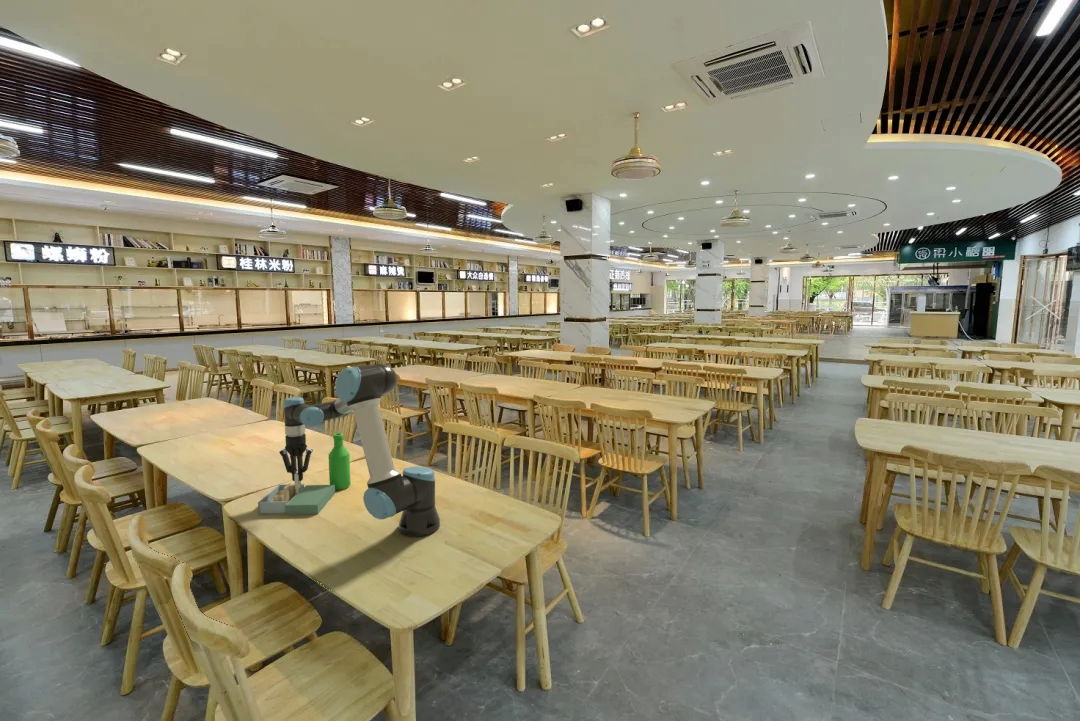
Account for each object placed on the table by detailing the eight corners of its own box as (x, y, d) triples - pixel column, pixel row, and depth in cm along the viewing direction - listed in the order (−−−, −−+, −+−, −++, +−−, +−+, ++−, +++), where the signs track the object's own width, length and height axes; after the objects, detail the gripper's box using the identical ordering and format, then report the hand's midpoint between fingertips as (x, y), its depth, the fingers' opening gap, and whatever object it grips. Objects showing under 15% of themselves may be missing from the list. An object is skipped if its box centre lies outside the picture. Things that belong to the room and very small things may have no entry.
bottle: (354, 483, 215) (352, 431, 212) (344, 491, 207) (342, 437, 203) (336, 482, 216) (334, 431, 213) (325, 490, 207) (323, 436, 204)
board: (318, 514, 185) (317, 504, 184) (286, 514, 184) (286, 505, 183) (335, 493, 204) (334, 484, 204) (306, 493, 203) (306, 485, 203)
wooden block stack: (292, 488, 193) (283, 488, 193) (292, 501, 194) (284, 501, 194) (298, 482, 199) (289, 482, 199) (298, 495, 200) (290, 495, 200)
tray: (286, 513, 184) (285, 501, 184) (258, 514, 183) (258, 502, 183) (304, 494, 202) (304, 483, 202) (279, 495, 201) (278, 484, 201)
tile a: (282, 496, 185) (272, 496, 185) (282, 510, 186) (273, 510, 186) (288, 490, 191) (279, 490, 191) (289, 503, 192) (280, 504, 192)
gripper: (315, 431, 198) (317, 484, 201) (283, 431, 197) (286, 484, 200) (308, 436, 190) (310, 491, 193) (274, 436, 189) (278, 491, 192)
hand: (298, 487), depth 197 cm, fingers closed
